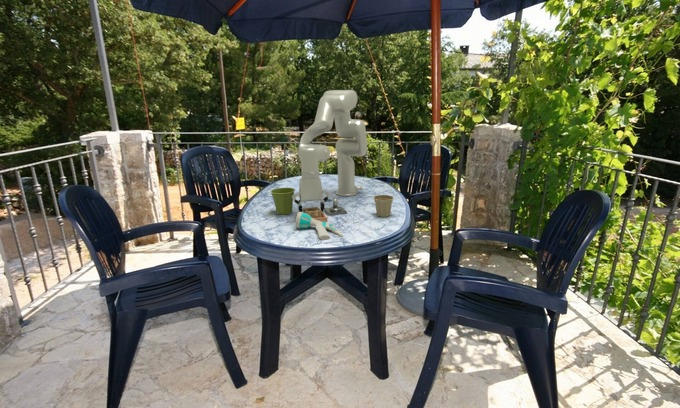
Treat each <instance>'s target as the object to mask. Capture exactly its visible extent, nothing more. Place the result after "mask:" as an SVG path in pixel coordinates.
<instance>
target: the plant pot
mask: <svg viewBox="0 0 680 408" xmlns="http://www.w3.org/2000/svg"><path fill="white" fill-rule="evenodd" d="M295 191H296V189H295V188H294V187H276V188H274V189H271V190H270V193H271V197H272V198H273V202H274V207H275V210H276V214H278V215H283V216H285V215H290V214H291V213H292V212H293V204H294V203H293V202H294V200H293V198H292V196H293V195H294V194H295Z"/></svg>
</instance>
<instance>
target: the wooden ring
mask: <svg viewBox="0 0 680 408" xmlns="http://www.w3.org/2000/svg"><path fill="white" fill-rule="evenodd" d="M302 210H303V213H306V214H308V215H310V216H311V218H320V217H321V208H319V207H318V206H312V207H302Z"/></svg>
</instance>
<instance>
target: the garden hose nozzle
mask: <svg viewBox="0 0 680 408" xmlns="http://www.w3.org/2000/svg"><path fill="white" fill-rule="evenodd" d="M298 212H299V211H298ZM296 214H297V213H296ZM294 224H295V225H294V226H295V228H297V229H299V230H300V229H303V230H304V229H308V228H311V227H315V229H316V231H317V235H318V238H319V239H320V240H321V241H324V240H330V238H331V235H330V234H329V233H328V231H327V230H329V231H331V232H333V233H334V234H335V235H337V236H338V237H341V238H343V237H344V234H343V233H342V232H341V231H340V230H337V229H336V226H335V225H334V224H332V223H330V222H328V221H327V222H321V221H318V220H315V219H313V218H311V216H310V215H308V214H306V213H303V212H299V213H298V214H297V215H296V216H295V223H294Z"/></svg>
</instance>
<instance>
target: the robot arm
mask: <svg viewBox="0 0 680 408" xmlns="http://www.w3.org/2000/svg"><path fill="white" fill-rule="evenodd" d="M357 103H358V94H357V92H356V91H355V90H354V89H353V90H352V89H334V90H333V89H332V90H327V91H324V93H323V95H322V96H321V98H320V99H319V101H318V105H317V110H316V115H315V117H314V122H313V124H311V125H310V126H309V127H308V128H307V129H306V130H305V131H304V132H303V134H302V135H301V137H300V141H299V145H298V150H297V152H298V153H297V154H298V155H297V156H298V157H299V159H300V166H301V169H300V170H301V177H300V178H299V186H298V192H296V193H294V195H293V196H292V198H293V202H294V203H295V204H296V205H297V206H298V212H303V205H302V204H303V203H304V202H312V201H313V202H314V201H315V202H316V201H319V206H320V208H319V209H320V210H321V211H322V212H323V213H324V212H325V210H324V209H325V207H326V206H325V204H326V202H327V201H328V200H329V197H330V195H331V194H330V192H328V191H326V190H324V189H323V187H322V186H323V185H322V180H321V177H320V176H322V175H323V173H322V171H320V170H319V163H321V162H326V161H327V160H328V159H329V157H330V155H331V154H330V153H331V151H330V148H329V147H328V146H327V145H325V144H311V142H312V141H313V140H314V139H315V138H316V137H319V136H321V135H322V134H325V133H327V132H329V131H331V130H332V128H333V125H334V124H335V131H336V134H337V136H338V137H339V139H338V140H337V141H336V142H335V153H336V157H337V158H336V159H337V190H336V191H335V195H337V196H339V197H353V196H356V195H357V194H358V191H363V189H364V188H363V186H360V185H357V186H356V185H355V181H356V180H355V179H356V178H355V171H356V170H355V167H356V166H355V161H354V160H353V158H352V157H364V156H365V155H366V154H367V151H368V142H367V131H366V124H365V122H364V121H363V120H361V119H352V118H351V112H350V111H352V110H353V109H354V108H356V106H357ZM324 194H325V196H324ZM298 197H299V200H298V199H297V198H298Z"/></svg>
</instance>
